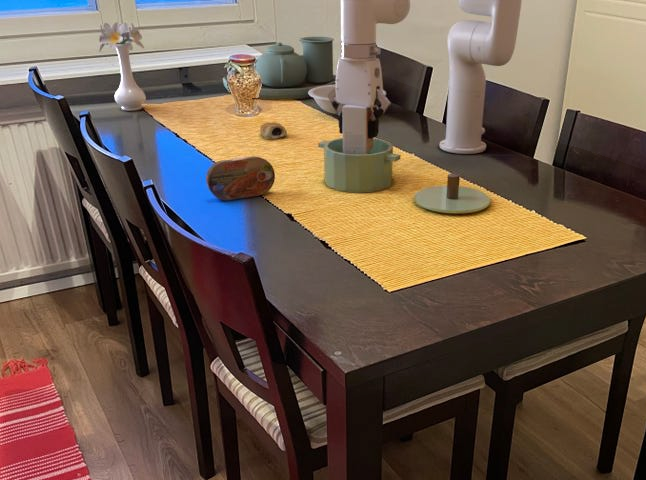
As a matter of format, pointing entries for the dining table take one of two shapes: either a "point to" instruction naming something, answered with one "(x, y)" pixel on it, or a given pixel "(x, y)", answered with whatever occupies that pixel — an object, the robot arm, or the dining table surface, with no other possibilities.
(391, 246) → the dining table surface
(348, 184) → the casserole
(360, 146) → the small box
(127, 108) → the flower vase
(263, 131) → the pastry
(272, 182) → the tin
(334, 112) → the soup bowl
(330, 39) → the tea set
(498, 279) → the dining table surface
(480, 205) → the pot lid
